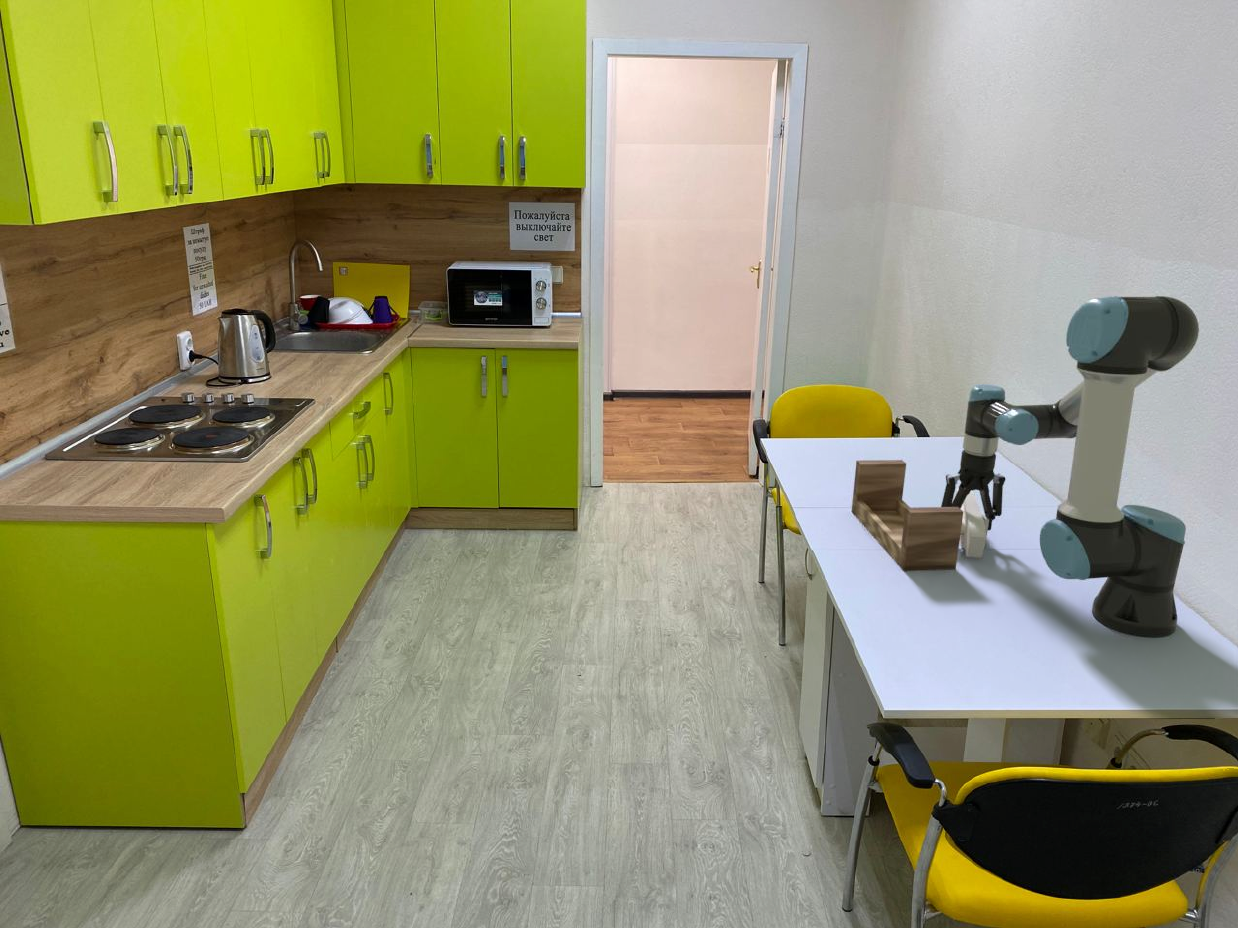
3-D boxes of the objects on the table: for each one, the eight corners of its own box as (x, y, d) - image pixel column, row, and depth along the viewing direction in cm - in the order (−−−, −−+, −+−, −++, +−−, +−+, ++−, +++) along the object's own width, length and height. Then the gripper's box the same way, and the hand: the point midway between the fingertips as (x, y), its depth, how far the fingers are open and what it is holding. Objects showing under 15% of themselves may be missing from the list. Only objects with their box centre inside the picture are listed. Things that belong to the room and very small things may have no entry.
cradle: (955, 569, 215) (963, 511, 210) (903, 570, 214) (910, 512, 209) (896, 510, 250) (901, 460, 245) (851, 511, 249) (856, 460, 244)
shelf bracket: (969, 522, 243) (977, 480, 236) (982, 581, 221) (991, 536, 215) (947, 520, 244) (954, 478, 237) (957, 578, 222) (966, 534, 216)
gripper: (1012, 446, 226) (998, 536, 234) (931, 447, 225) (920, 537, 232) (1027, 455, 219) (1013, 548, 227) (944, 456, 218) (932, 549, 225)
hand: (966, 542), depth 229 cm, fingers open, 7 cm apart
